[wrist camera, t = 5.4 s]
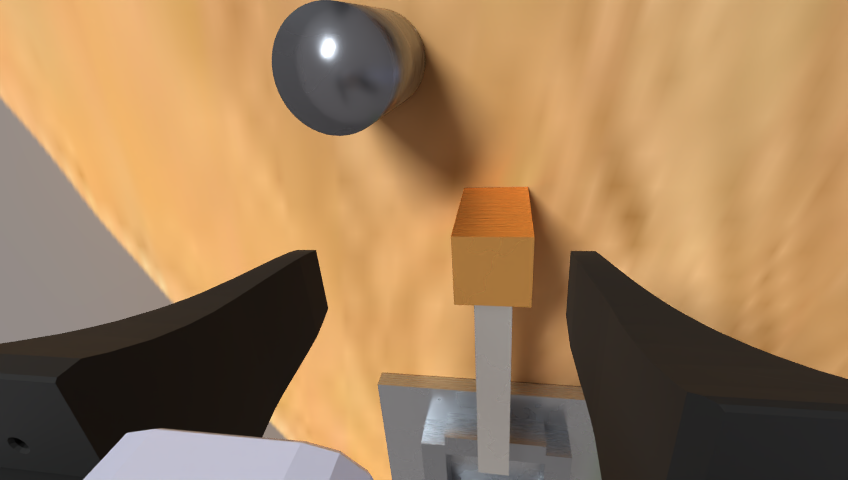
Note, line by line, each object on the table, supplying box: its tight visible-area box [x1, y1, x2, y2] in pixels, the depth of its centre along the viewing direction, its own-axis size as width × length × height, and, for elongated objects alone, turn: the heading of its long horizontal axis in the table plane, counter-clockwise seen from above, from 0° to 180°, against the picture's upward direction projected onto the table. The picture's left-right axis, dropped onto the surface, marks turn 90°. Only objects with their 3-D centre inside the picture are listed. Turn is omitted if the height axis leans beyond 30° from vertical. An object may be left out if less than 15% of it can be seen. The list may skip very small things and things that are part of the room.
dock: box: [378, 373, 602, 480], centre depth 27 cm, size 14×12×3 cm
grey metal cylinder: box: [272, 0, 425, 136], centre depth 16 cm, size 4×4×6 cm
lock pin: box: [451, 187, 535, 476], centre depth 21 cm, size 3×14×6 cm, turn 4°
